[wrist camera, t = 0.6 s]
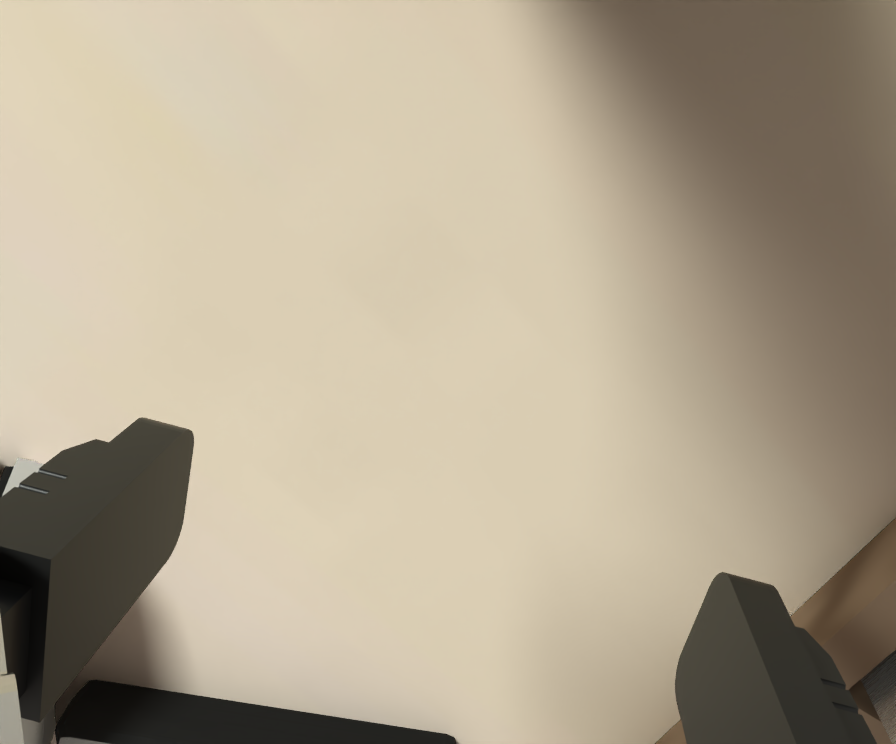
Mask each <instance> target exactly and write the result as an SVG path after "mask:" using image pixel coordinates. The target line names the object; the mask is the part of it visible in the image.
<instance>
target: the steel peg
mask: <svg viewBox="0 0 896 744" xmlns="http://www.w3.org/2000/svg"><path fill="white" fill-rule="evenodd" d="M861 681H862V683H863V685H864V687H865V690H866V692H867V694H868V696H869V698H870V700H871V702H872V704H873V706H874V708H875V710H876V712H877V714H878V716H879V718H880V720H881V722H882V724H883V726H884V728H885V730H886V732H887V734H888V736H889V738H890V740H891V742H892V744H896V650H894V651H893V652H892V653H891V654H890V655H889V656H887V657H886V658H885V659H884V660H883V661H882V662H880V663H879V664H878V665H877V666H876V667H874V668H873V669H872V670H871V671H870V672H869V673H867V674H866V675H865V676H864V677H863V678H862V679H861Z"/></svg>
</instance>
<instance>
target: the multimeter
mask: <svg viewBox="0 0 896 744" xmlns="http://www.w3.org/2000/svg"><path fill="white" fill-rule="evenodd" d="M55 735H56V741H57V744H456V742H455V739H454V737H452V736H449V735H447V734H442V733H436V732H429V731H423V730H416V729H410V728H403V727H397V726H390V725H384V724H377V723H371V722H365V721H358V720H352V719H345V718H339V717H332V716H326V715H319V714H313V713H306V712H300V711H294V710H287V709H281V708H274V707H268V706H261V705H255V704H248V703H242V702H235V701H229V700H223V699H216V698H210V697H203V696H197V695H190V694H184V693H177V692H171V691H164V690H158V689H152V688H145V687H139V686H132V685H126V684H119V683H113V682H106V681H100V680H91V681H88V682H87V683H86V684H85V685H84V687H83V688H82V689H81V690H80V691H79V692H78V693H77V695H76V696H75V697H74V698H73V699H72V700H71V702H70V703H69V705H68V707H67V708H66V710H65V712H64V713H63V715H62V716H61V718H60V720H59V721H58V723H57V725H56V729H55Z"/></svg>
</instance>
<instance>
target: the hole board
mask: <svg viewBox="0 0 896 744" xmlns="http://www.w3.org/2000/svg"><path fill="white" fill-rule="evenodd" d="M791 619H792V621H793V623H794V625H795V626H796V627H800V628H804V629H805V630H806V631H807V632H808V633H809V634H810V635H811V636H812V637H813V638H814V639H815V640H816V641H817V642H818V643H819V644H820V646H821V647H822V648H823V649H824V650H825V651H826V652H827V653H828V654H829V655H830V656H831V657H832V659H833V661H834V663H835V665H836V667H837V669H838V670H839V672H840V674H841V676H842V678H843V680H844V682H845V684H846V690H848V691H850V693H851V695H852V697H853V699H854V701H855V703H856V705H857V706H858V708H859V709H858V714H860V715H862V716H863V718H864V720H865V722H866V723H867V725H868V727H869V729H870V731H871V733H872V735H873V737H874V739H875V740H876V742H877V744H892V742H891V740H890V738H889V736H888V734H887V732H886V730H885V728H884V726H883V724H882V722H881V720H880V718H879V716H878V714H877V712H876V710H875V708H874V706H873V704H872V702H871V700H870V698H869V696H868V694H867V692H866V690H865V687H864V685H863V683H862V681H861V679H862V678H863V677H864V676H865V675H866V674H867V673H869V672H870V671H871V670H872V669H873V668H874V667H876V666H877V665H878V664H879V663H880V662H882V661H883V660H884V659H885V658H886V657H887V656H889V655H890V654H891V653H892V652H893V651H894V650H896V518H895V519H894V520H893V521H892V522H891V523H890V524H889V525H888V526H887V527H886V528H885V529H883V530H882V531H881V532H880V533H879V534H878V535H877V536H876V537H875V538H874V539H873V540H872V541H871V542H870V543H869V544H867V545H866V546H865V547H864V548H863V549H862V550H861V551H860V552H859V553H858V554H857V555H856V556H855V557H854V558H853V559H851V560H850V561H849V562H848V563H847V564H846V565H845V566H844V567H843V568H842V569H841V570H840V571H839V572H838V573H837V574H835V575H834V576H833V577H832V578H831V579H830V580H829V581H828V582H827V583H826V584H825V585H824V586H823V587H822V588H821V589H820V590H818V591H817V592H816V593H815V594H814V595H813V596H812V597H811V598H810V599H809V600H808V601H807V602H806V603H805V604H804V605H802V606H801V607H800V608H799V609H798V610H797V611H796V612H795V613H794V614H793V615H792V616H791ZM655 744H687V743H686V739H685V734H684V730H683V726H682V722H681V720H680V721H679V722H678V723H677V724H676V725H675V726H673V727H672V728H671V729H670V730H669V731H668V732H667V733H666V734H665V735H664V736H663V737H662V738H661V739H660V740H659V741H657V742H656V743H655Z"/></svg>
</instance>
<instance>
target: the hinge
mask: <svg viewBox="0 0 896 744" xmlns="http://www.w3.org/2000/svg"><path fill="white" fill-rule="evenodd" d="M42 466H43V464H41V463H39V462H36V461H32V460H27V459H22V458H17V460H16V463H15V465H14V467H5V469H4V472H3V474H2V476H1V479H0V498H1V497H2V496H3V495H4V494H6V493H7V492H8V491H10V490H11V489H12V488H14V487H17V488H18V487H19V484H20V482H22V481H23V480H24V479H26V478H27V477H28V476H30V475H31V474H32V473H34V472H38V471H39V468H40V467H42ZM21 723H22V731H23V739H24V744H51V741H52V738H53V734H54V731H55V728H56V726H55V704H54V705H53V707H52V708H51V709H50V711H49V712H48V713H47V714H46V716H45V717H44V718H43V719H42V721H41V722H40V723H38V722H35V721H31V720H27V719H24V718H21Z"/></svg>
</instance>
